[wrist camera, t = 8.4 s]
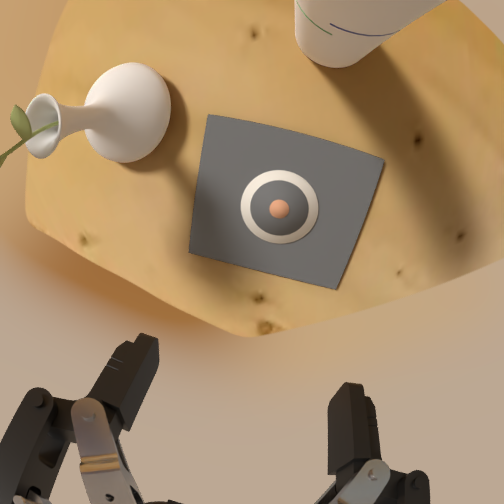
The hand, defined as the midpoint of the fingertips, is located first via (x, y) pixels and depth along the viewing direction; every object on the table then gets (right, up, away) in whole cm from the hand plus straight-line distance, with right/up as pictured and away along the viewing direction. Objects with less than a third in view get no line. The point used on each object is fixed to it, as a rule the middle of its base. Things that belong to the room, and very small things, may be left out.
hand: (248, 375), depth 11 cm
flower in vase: (-14, +21, +16) cm, 29 cm away
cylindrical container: (+8, +26, +9) cm, 29 cm away
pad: (+3, +10, +18) cm, 21 cm away
